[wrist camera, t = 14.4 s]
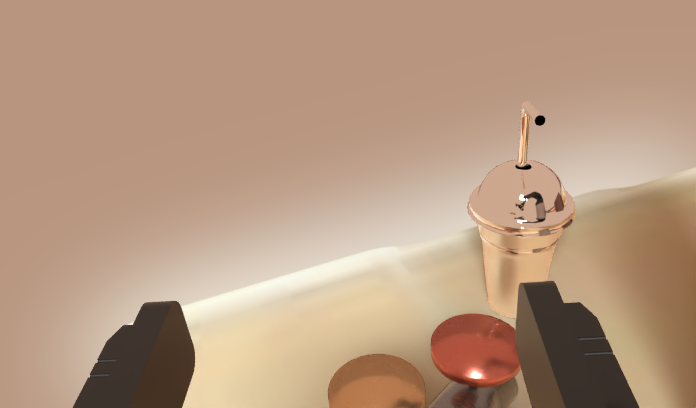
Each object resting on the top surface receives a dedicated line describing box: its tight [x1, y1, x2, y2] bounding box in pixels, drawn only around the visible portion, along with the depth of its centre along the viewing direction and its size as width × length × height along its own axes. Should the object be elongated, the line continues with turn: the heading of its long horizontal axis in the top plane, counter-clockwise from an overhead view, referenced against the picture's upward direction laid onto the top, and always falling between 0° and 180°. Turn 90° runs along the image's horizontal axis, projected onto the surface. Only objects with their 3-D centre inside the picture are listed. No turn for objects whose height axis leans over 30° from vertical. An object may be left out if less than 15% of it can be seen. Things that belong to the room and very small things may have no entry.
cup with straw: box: [468, 101, 576, 318], centre depth 49 cm, size 8×9×20 cm
